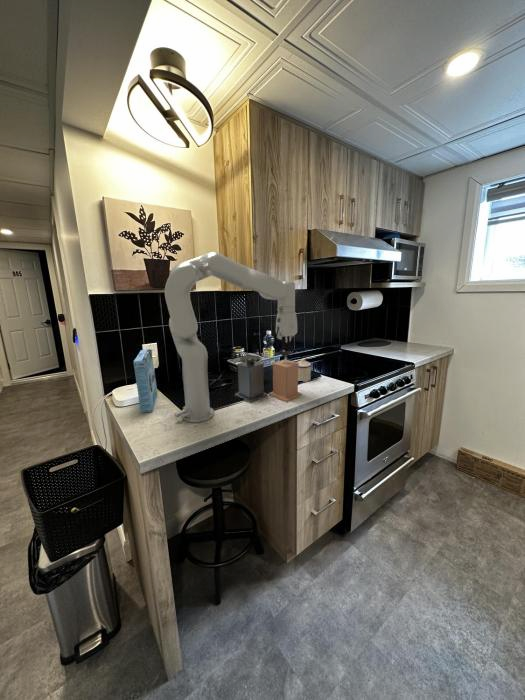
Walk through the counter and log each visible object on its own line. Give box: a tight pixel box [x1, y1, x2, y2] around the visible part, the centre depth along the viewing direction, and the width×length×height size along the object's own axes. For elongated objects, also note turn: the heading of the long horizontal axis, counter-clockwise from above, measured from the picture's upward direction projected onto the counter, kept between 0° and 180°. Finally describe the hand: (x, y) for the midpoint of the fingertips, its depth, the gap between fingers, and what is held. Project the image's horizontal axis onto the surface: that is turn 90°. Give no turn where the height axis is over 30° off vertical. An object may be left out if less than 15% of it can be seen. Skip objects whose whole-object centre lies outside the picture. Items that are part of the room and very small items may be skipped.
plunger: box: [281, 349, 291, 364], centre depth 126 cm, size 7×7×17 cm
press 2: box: [268, 359, 303, 403], centre depth 128 cm, size 11×12×16 cm
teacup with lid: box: [296, 358, 312, 383], centre depth 150 cm, size 12×9×12 cm
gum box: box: [133, 348, 158, 414], centre depth 121 cm, size 20×5×23 cm, turn 15°
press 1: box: [234, 361, 269, 404], centre depth 128 cm, size 11×12×16 cm
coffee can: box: [240, 354, 261, 363], centre depth 144 cm, size 10×10×14 cm
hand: (286, 350), depth 124 cm, fingers closed
